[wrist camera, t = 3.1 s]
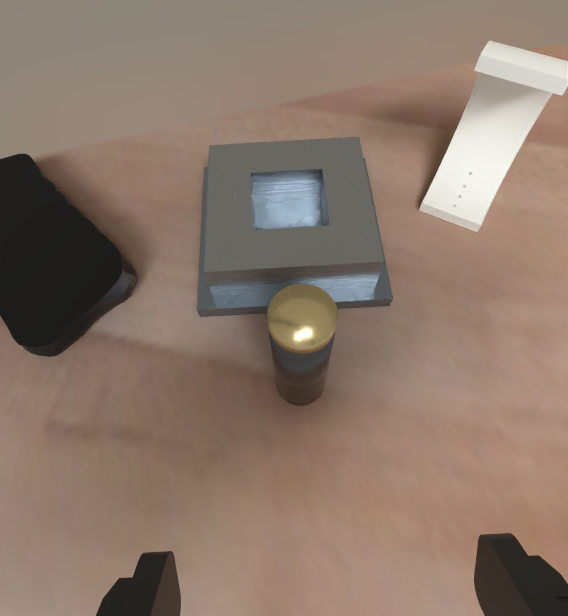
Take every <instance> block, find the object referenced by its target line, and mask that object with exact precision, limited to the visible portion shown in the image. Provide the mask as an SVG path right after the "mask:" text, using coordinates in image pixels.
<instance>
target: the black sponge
mask: <svg viewBox="0 0 568 616" xmlns="http://www.w3.org/2000/svg"><path fill="white" fill-rule="evenodd" d="M136 282H137V276H136V273H135V271H134V269H133V268H132V266H131V264H130V263H129V262H128V261H127V260H126V259H125V258H124V257H123V256H122V255H121V253H120V252H119V250H118V249H117V248H116V246H115V245H114V244H113V243H112V242H111V241H110V240H109V239H108V238H107V237H106V236H104V235H103V234H102V233H101V232H100V231H99V230H98V229H97V228H96V227H95V226H94V224H93V223H92V222H91V221H89V220H88V219H87V218H86V217H85V216H84V215H83V214H82V213H81V212H80V211H79V210H78V209H77V207H76V206H75V205H74V204H73V203H72V202H71V201H70V200H69V199H68V198H67V197H66V196H65V195H64V194H63V193H62V192H61V191H60V190H59V189H58V188H57V187H56V186H55V185H54V184H53V183H52V182H51V181H50V180H49V179H48V178H47V177H46V176H45V175H44V174H43V173H42V171H41V170H40V169H39V167H38V166H37V165H36V163H35V162H34V161H33V159H32V158H31V157H30V156H29V155H27V154H17V155H13V156H10V157H6V158H3V159H0V316H1V317H2V319H3V320H4V322H5V324H6V325H7V327H8V329H9V331H10V333H11V335H12V337H13V339H14V340H15V341H16V342H17V343H18V344H19V345H22V346H23V347H24V349H25V350H27V351H28V352H30V353H33V354H36V355H40V356H49V357H50V356H56V355H58V354H60V353H62V352H63V351H64V350H65V349H67V348H68V347H69V346H70V345H71V344H73V343H74V342H75V341H76V340H77V339H78V338H79V337H80V336H81V335H82V334H83V333H84V332H85V331H86V330H87V329H88V328H89V327H90V326H91V324H92V323H93V322H95V321H96V320H97V319H98V318H99V317H101V316H103V315H104V314H106V313H107V312H108V311H110V310H111V309H113V308H114V307H115V306H117V305H119V304H120V303H123V302H124V301H125V300H127V298H128V297H129V295H130V293H131V292H132V290H133V288H134V287H135V285H136Z"/></svg>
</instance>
